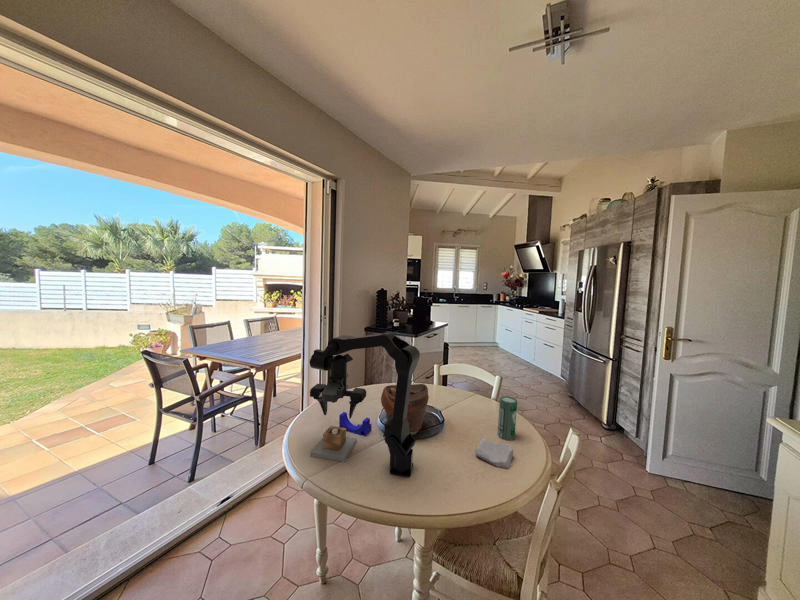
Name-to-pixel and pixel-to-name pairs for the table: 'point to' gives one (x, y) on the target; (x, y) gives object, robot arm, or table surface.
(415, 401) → the brown pot
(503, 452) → the stone block
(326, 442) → the wooden hollow block
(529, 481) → the table surface
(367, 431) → the blue curved bracket
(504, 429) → the can
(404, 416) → the robot arm
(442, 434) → the table surface
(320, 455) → the post stand
